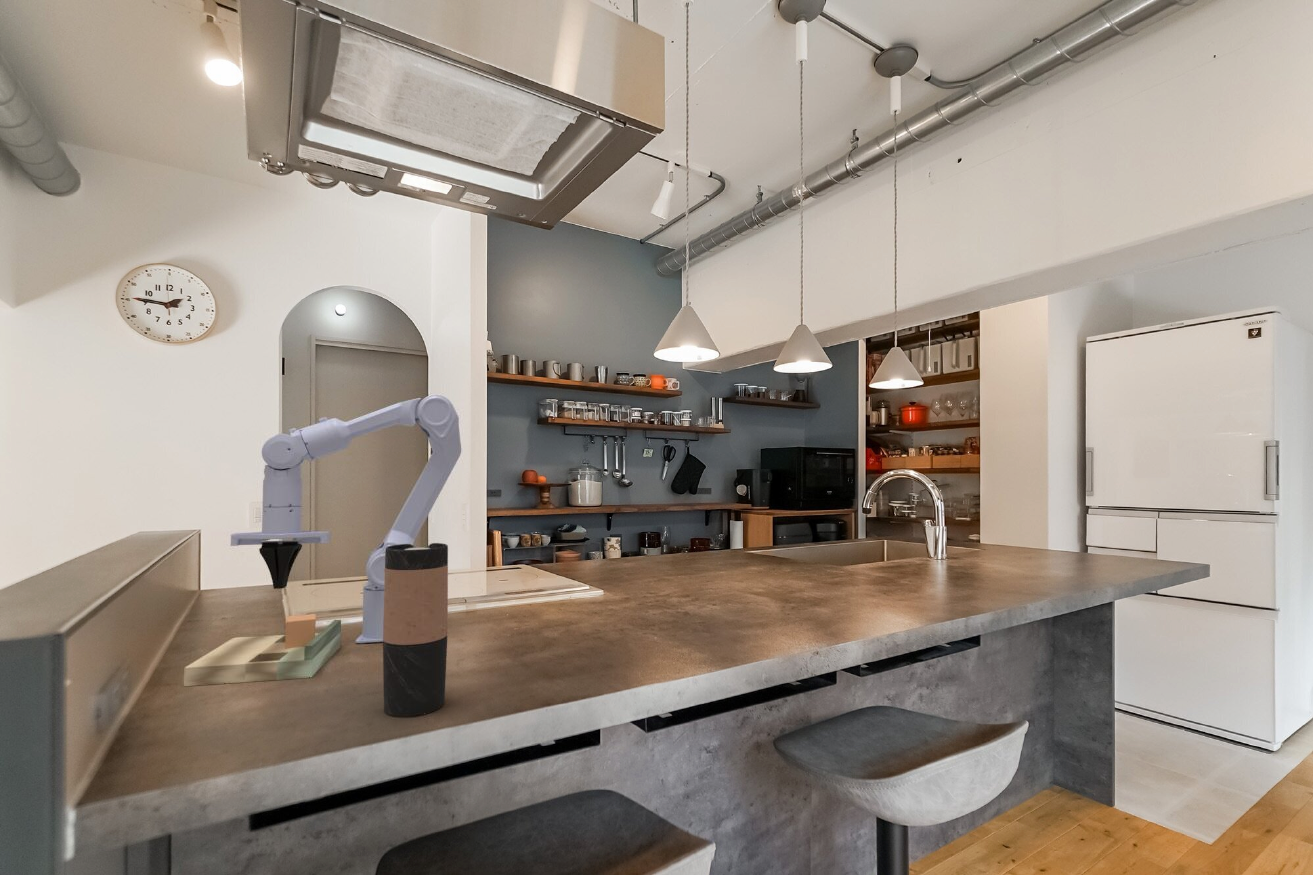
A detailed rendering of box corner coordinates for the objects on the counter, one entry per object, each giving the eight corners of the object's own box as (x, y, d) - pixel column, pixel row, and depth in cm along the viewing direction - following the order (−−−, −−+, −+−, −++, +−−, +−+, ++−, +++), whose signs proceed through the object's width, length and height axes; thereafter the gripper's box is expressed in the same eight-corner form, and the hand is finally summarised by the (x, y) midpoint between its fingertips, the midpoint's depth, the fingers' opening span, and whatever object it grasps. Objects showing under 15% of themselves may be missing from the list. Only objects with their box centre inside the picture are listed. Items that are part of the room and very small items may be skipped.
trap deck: (340, 646, 106) (341, 619, 107) (311, 677, 91) (312, 645, 91) (233, 653, 103) (234, 625, 103) (183, 686, 87) (184, 653, 87)
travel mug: (407, 723, 75) (410, 551, 76) (368, 710, 79) (371, 547, 80) (459, 702, 81) (461, 544, 82) (420, 691, 85) (422, 541, 86)
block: (314, 639, 102) (315, 613, 102) (315, 645, 98) (315, 618, 99) (286, 642, 100) (286, 616, 100) (285, 648, 97) (285, 622, 97)
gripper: (335, 504, 113) (333, 581, 112) (243, 505, 109) (241, 585, 109) (324, 506, 106) (322, 589, 105) (226, 508, 103) (223, 593, 102)
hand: (280, 587), depth 107 cm, fingers closed
